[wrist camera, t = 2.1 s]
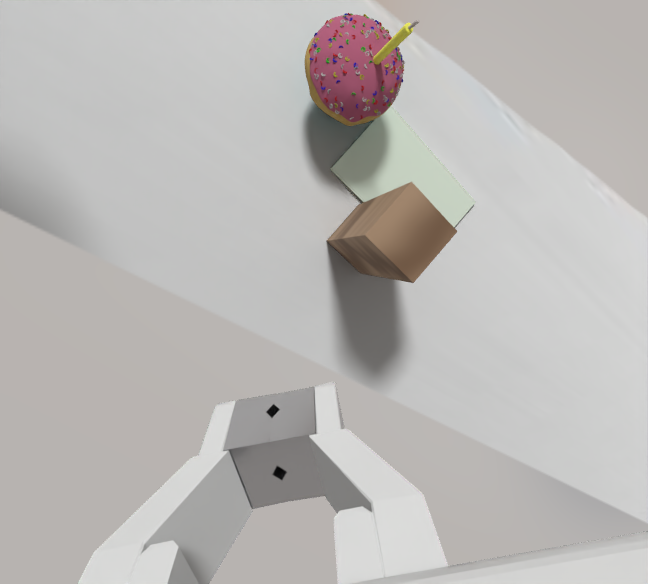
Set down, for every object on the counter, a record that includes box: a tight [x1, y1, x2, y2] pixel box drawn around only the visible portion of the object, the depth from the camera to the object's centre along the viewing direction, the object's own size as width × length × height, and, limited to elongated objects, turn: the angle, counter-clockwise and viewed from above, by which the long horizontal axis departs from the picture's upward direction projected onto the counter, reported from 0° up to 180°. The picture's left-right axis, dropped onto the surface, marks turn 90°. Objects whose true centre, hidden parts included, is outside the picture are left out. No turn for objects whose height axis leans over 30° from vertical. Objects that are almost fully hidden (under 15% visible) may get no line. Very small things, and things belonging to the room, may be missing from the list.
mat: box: [330, 106, 475, 227], centre depth 36 cm, size 14×9×1 cm, turn 48°
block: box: [327, 182, 457, 283], centre depth 30 cm, size 5×5×12 cm
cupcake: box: [305, 13, 419, 126], centre depth 28 cm, size 9×8×12 cm
